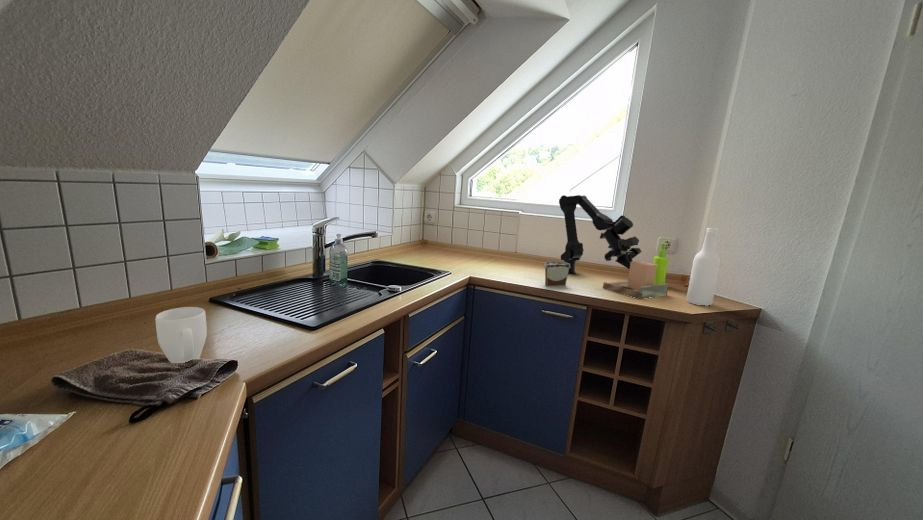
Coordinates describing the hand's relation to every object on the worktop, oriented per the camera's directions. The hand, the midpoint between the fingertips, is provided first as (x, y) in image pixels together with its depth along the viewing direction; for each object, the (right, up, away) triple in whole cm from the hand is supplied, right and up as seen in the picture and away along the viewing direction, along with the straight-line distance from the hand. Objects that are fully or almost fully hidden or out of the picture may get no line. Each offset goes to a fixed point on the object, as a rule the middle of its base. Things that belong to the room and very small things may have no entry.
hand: (633, 270), depth 162 cm
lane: (+1, -9, 0) cm, 9 cm away
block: (+2, -8, -2) cm, 8 cm away
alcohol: (+21, -13, -12) cm, 27 cm away
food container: (-34, -6, +4) cm, 35 cm away
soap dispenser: (+18, -7, +15) cm, 24 cm away
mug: (-131, -18, -83) cm, 157 cm away
